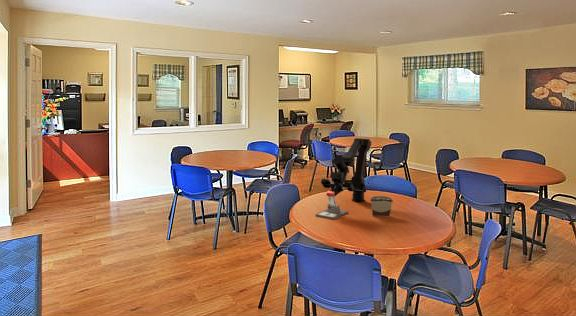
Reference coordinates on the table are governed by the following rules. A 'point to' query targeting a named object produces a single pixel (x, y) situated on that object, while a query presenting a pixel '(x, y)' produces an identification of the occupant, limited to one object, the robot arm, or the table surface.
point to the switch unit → (331, 213)
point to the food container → (381, 205)
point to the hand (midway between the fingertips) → (332, 197)
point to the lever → (331, 199)
